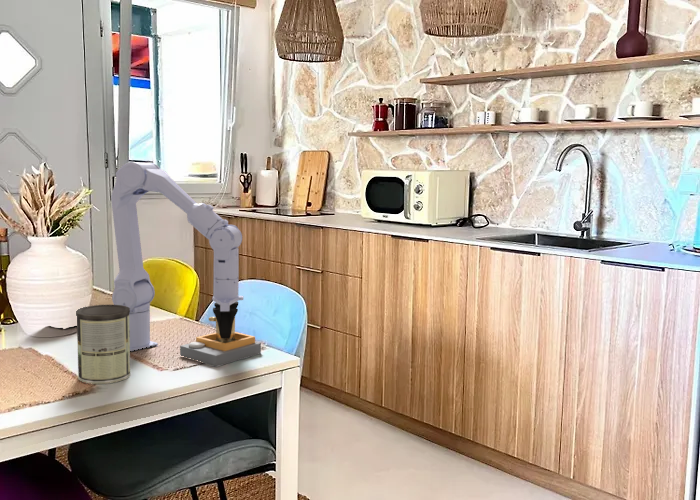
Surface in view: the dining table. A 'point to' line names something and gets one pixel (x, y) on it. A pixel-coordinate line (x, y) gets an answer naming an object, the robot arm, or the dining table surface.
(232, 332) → the spout can
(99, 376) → the coffee can
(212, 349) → the grey base with frame
